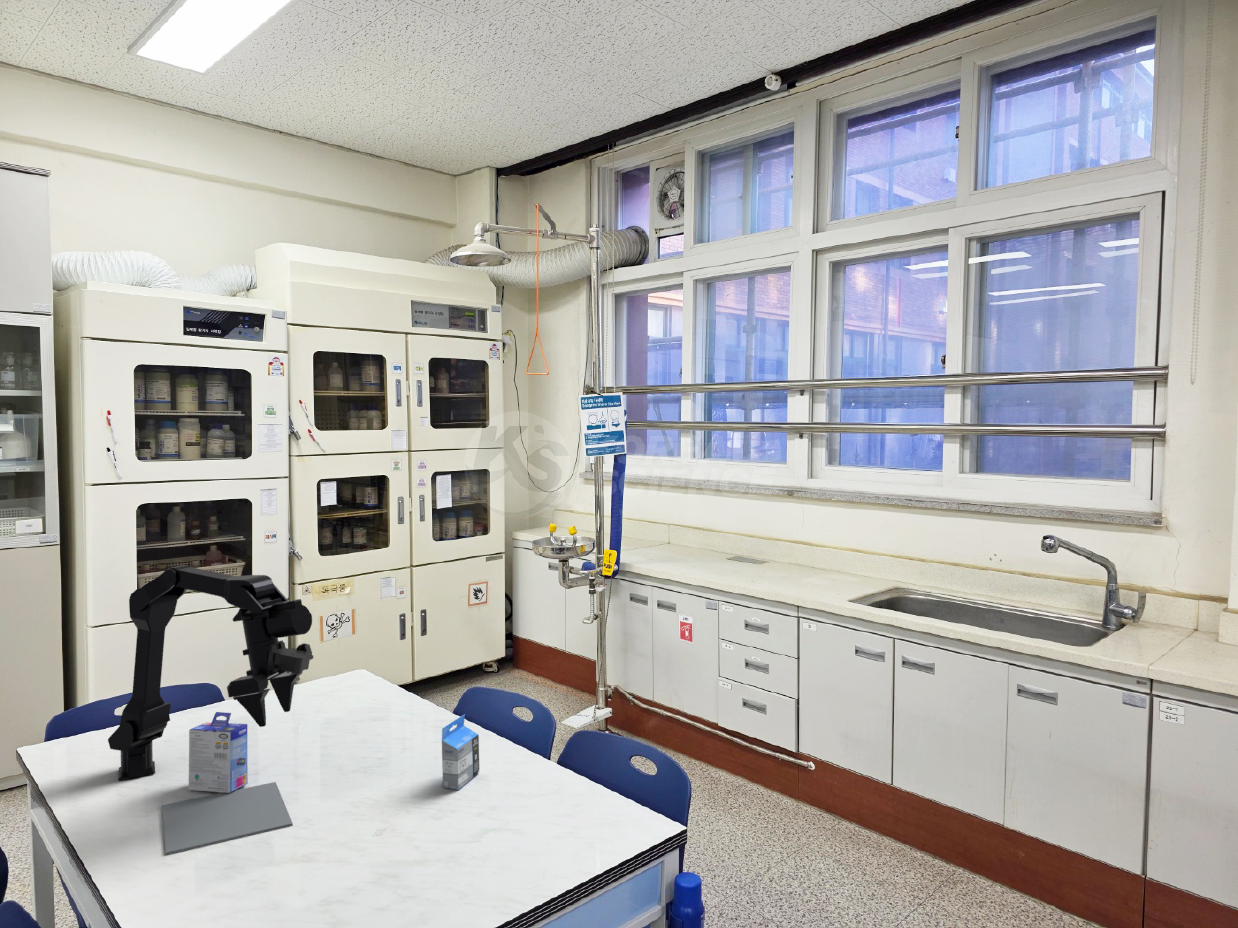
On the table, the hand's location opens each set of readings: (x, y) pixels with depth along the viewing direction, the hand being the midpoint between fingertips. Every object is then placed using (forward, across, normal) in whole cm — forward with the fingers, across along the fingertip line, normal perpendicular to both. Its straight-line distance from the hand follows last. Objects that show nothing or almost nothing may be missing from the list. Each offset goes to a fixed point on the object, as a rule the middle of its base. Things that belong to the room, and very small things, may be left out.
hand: (275, 718), depth 155 cm
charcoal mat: (+14, -8, +8) cm, 18 cm away
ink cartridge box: (+12, +2, +16) cm, 20 cm away
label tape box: (+21, +11, -31) cm, 39 cm away
